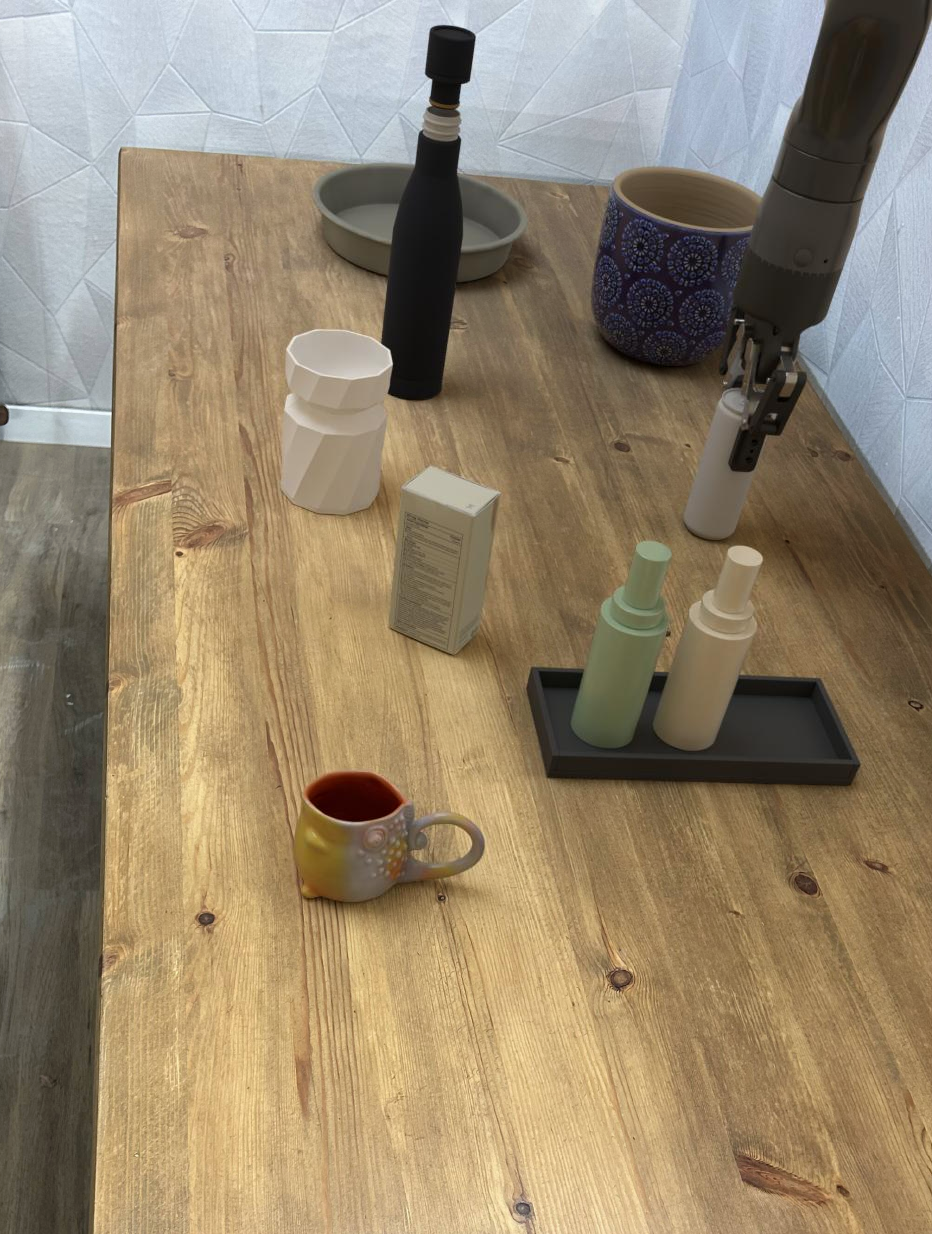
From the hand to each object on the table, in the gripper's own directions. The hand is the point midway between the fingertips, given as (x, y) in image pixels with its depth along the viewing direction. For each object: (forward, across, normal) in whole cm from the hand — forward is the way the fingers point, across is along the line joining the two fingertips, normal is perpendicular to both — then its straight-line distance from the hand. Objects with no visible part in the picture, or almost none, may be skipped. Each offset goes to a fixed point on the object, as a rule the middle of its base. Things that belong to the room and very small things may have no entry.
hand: (732, 451), depth 116 cm
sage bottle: (+7, -29, +16) cm, 34 cm away
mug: (+8, -44, +33) cm, 56 cm away
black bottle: (+8, +23, +25) cm, 35 cm away
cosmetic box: (+8, -17, +27) cm, 33 cm away
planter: (+8, +36, -3) cm, 37 cm away
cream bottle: (+7, -29, +9) cm, 31 cm away
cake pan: (+8, +57, +21) cm, 61 cm away
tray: (+7, -29, +9) cm, 31 cm away
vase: (+8, +3, +34) cm, 35 cm away
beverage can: (+8, 0, 0) cm, 8 cm away
